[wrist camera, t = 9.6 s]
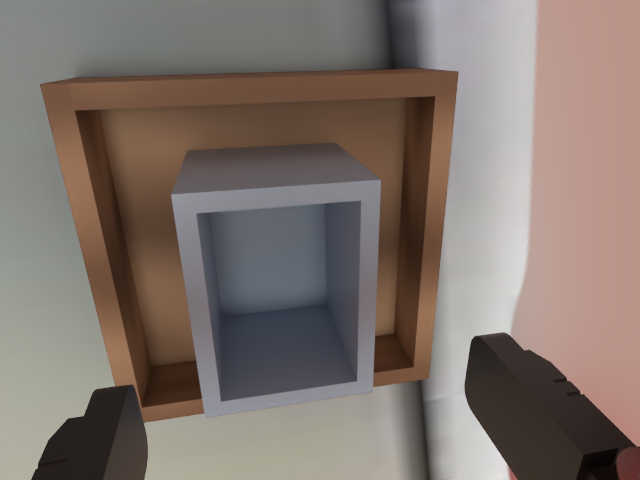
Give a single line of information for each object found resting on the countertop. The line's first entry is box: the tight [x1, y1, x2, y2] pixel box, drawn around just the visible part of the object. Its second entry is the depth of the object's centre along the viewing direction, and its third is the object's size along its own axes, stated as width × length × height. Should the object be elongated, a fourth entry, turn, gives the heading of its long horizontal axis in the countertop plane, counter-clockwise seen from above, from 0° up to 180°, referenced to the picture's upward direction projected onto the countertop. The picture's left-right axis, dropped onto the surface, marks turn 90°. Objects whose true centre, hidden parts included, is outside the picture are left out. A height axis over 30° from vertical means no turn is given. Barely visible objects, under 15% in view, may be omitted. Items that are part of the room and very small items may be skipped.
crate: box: [40, 68, 458, 423], centre depth 19 cm, size 14×14×4 cm
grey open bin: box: [171, 142, 381, 418], centre depth 17 cm, size 8×6×6 cm
